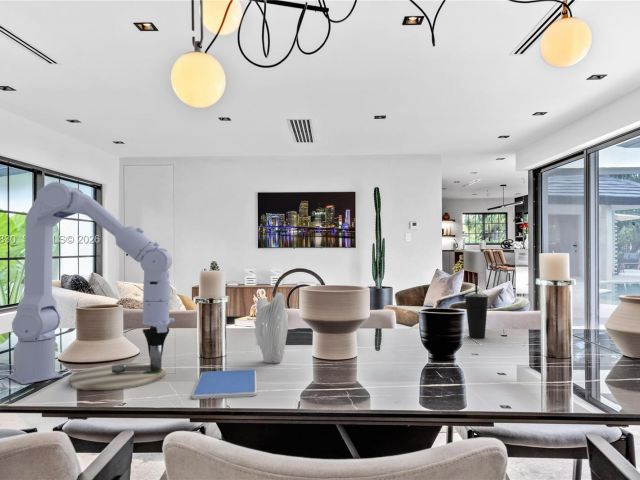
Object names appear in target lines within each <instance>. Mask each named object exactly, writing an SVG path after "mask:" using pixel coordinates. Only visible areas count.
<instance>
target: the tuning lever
mask: <svg viewBox="0 0 640 480" xmlns="http://www.w3.org/2000/svg"><path fill="white" fill-rule="evenodd" d="M162 356H163V352H162V345H161V344H154V345H150V357H149V359H150V360H149V361H150V362H149V363H150V365H130V366H126V364H122V363H115V364H116V365H113V366H112V372H113V373H119V372H124V371H150V370H151V371H159V370H161V366H162Z"/></svg>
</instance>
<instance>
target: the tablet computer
mask: <svg viewBox="0 0 640 480" xmlns="http://www.w3.org/2000/svg"><path fill="white" fill-rule="evenodd" d="M257 377H258V376H257V370H256V369H239V370H238V369H237V370H235V369H233V370H213V371H211V370H210V371H202V372H201V373H200V375H199V377H198V380H197V381H196V385H195V386H194V389H193V391H192V394H191V396H190V397H191V399H193V400H211V399H213V398H214V399H229V398H231V399H232V398H247V397H248V398H249V397H255V396H257V394H258V386H257ZM209 398H211V399H209ZM214 399H213V400H214Z"/></svg>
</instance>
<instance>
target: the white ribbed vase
mask: <svg viewBox="0 0 640 480" xmlns="http://www.w3.org/2000/svg"><path fill="white" fill-rule="evenodd" d="M254 327H255V328H254V334H255V338H256V339H257V343H258V345H259V349H260V350H261V351H260V352H261V354H262V359H263V362H264V363H266V364H279V363H282V362H283V359H284V356H285V349H286V348H285V347H286V342H287V335H288V329H289V315H288V312H287V308H286V307H285V295H284V293H282V292H276V293H275V295H274V297H273V298H272V301H270V302H269V301H268V300H267V299H266V298H263V297H258V300H257V301H256V312H255V320H254Z"/></svg>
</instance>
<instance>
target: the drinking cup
mask: <svg viewBox="0 0 640 480" xmlns="http://www.w3.org/2000/svg"><path fill="white" fill-rule="evenodd" d="M474 289H475V290H474V291H472V292H468V293H467V294H464V299H465V309H466V318H467V327H468V335H469V338H471V339H479V340H480V339H485V338H486V330H487V329H486V328H487V316H488V315H487V314H488V304H489V303H488V301H489V298H490V296H489V295H487V294H485V293H483V292H481V291H478V276H477V275H475V276H474Z"/></svg>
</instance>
